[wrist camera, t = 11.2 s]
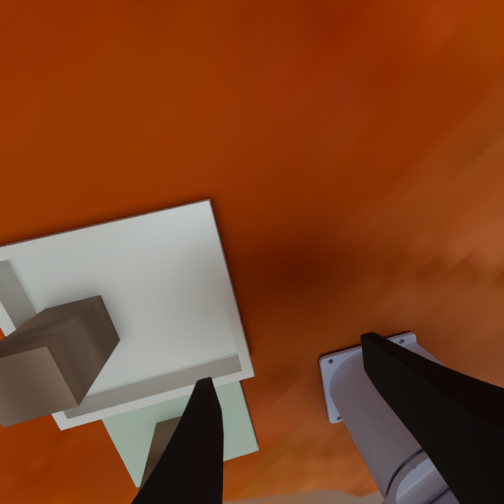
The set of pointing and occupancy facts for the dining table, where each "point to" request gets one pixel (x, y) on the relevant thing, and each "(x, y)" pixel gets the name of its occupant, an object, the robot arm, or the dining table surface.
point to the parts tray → (137, 303)
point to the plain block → (54, 359)
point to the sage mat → (144, 419)
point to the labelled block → (158, 445)
